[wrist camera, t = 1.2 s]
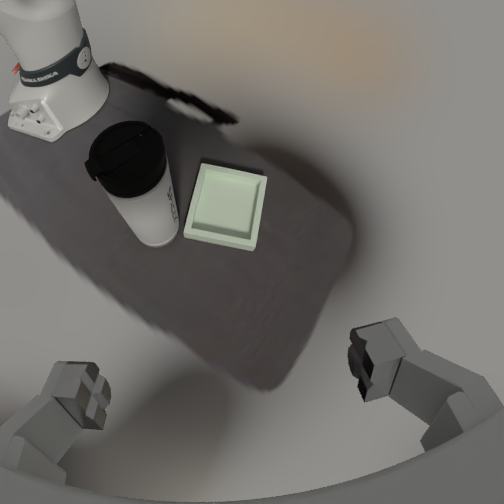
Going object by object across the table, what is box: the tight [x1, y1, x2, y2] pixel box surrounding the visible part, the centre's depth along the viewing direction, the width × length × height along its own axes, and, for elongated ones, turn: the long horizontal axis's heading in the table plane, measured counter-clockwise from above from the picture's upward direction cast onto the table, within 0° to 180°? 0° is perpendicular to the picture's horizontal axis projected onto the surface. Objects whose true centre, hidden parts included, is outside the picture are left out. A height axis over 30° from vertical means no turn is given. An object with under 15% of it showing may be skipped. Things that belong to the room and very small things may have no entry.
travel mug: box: [85, 121, 180, 248], centre depth 29 cm, size 6×7×20 cm
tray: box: [184, 163, 267, 251], centre depth 40 cm, size 9×10×2 cm
